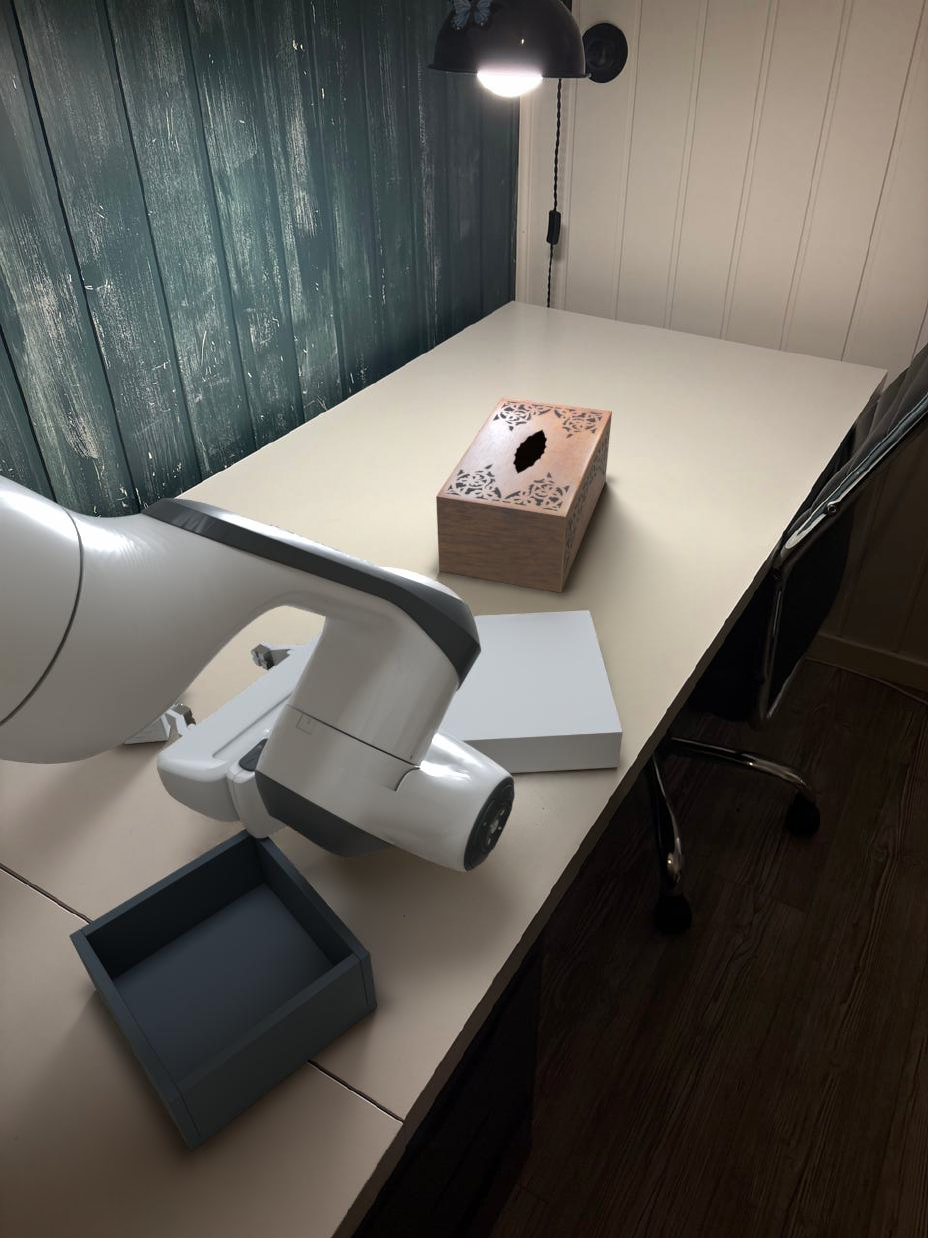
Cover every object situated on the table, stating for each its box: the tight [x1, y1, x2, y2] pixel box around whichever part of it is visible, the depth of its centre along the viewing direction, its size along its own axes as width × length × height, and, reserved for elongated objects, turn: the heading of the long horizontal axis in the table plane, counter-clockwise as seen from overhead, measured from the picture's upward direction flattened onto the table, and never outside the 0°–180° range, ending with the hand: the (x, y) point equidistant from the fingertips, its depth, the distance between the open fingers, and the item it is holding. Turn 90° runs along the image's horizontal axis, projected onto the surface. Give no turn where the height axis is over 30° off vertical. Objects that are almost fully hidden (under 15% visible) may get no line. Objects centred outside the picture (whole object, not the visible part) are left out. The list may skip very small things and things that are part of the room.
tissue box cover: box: [435, 396, 613, 593], centre depth 111 cm, size 26×14×10 cm, turn 162°
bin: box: [68, 828, 378, 1152], centre depth 64 cm, size 15×15×7 cm
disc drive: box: [438, 609, 623, 774], centre depth 87 cm, size 18×22×5 cm
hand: (217, 681), depth 79 cm, fingers open, 8 cm apart
